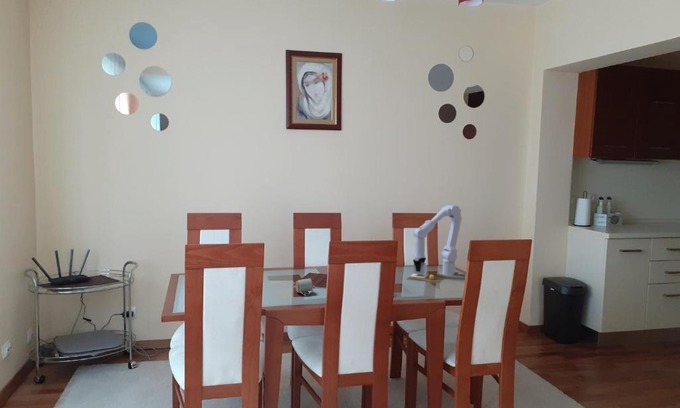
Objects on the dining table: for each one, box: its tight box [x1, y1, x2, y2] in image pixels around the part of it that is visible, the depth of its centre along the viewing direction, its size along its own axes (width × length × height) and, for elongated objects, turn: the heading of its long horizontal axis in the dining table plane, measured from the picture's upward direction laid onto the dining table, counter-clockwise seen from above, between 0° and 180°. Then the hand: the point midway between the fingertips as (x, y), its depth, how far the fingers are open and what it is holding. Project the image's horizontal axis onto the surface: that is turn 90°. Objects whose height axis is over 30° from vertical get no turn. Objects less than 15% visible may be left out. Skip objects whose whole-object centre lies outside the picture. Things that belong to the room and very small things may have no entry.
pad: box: [409, 273, 430, 278], centre depth 288 cm, size 9×9×1 cm
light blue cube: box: [413, 262, 426, 275], centre depth 288 cm, size 6×6×6 cm
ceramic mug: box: [295, 278, 314, 294], centre depth 251 cm, size 11×8×8 cm
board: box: [405, 274, 447, 284], centre depth 283 cm, size 18×20×1 cm
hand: (419, 270), depth 288 cm, fingers closed on light blue cube, 6 cm apart
